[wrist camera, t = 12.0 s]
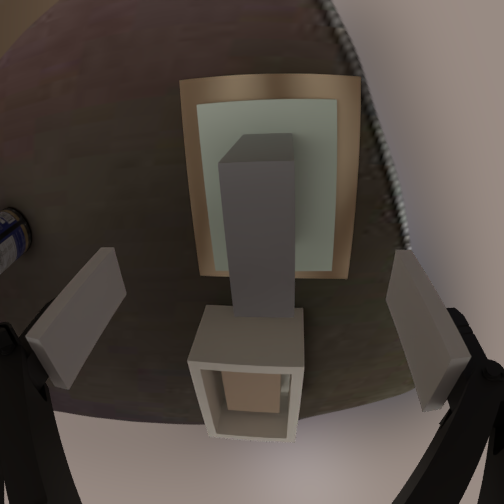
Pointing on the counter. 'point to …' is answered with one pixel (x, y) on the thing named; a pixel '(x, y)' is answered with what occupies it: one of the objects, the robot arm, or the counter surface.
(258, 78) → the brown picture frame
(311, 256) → the green base grey block
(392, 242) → the counter surface
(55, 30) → the counter surface
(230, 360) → the storage box
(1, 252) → the pill bottle
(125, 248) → the counter surface
